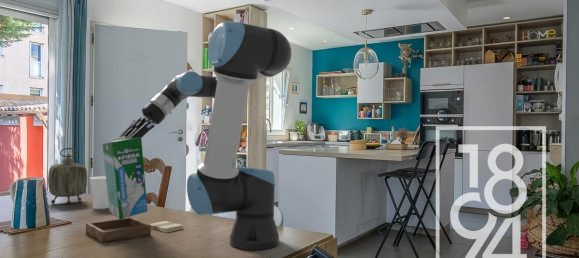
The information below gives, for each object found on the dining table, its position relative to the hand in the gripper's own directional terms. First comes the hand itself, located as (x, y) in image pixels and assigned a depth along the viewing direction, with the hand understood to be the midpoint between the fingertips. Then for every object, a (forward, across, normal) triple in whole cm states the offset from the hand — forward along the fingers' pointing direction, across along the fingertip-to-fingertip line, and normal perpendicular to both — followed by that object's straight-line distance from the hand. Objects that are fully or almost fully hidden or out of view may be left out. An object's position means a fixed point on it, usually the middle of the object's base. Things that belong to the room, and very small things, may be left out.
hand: (107, 159), depth 128 cm
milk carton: (+8, -2, -17) cm, 19 cm away
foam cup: (+7, +48, -28) cm, 56 cm away
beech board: (+4, -2, -31) cm, 31 cm away
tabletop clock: (+13, +67, -23) cm, 72 cm away
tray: (+15, 0, -20) cm, 25 cm away
